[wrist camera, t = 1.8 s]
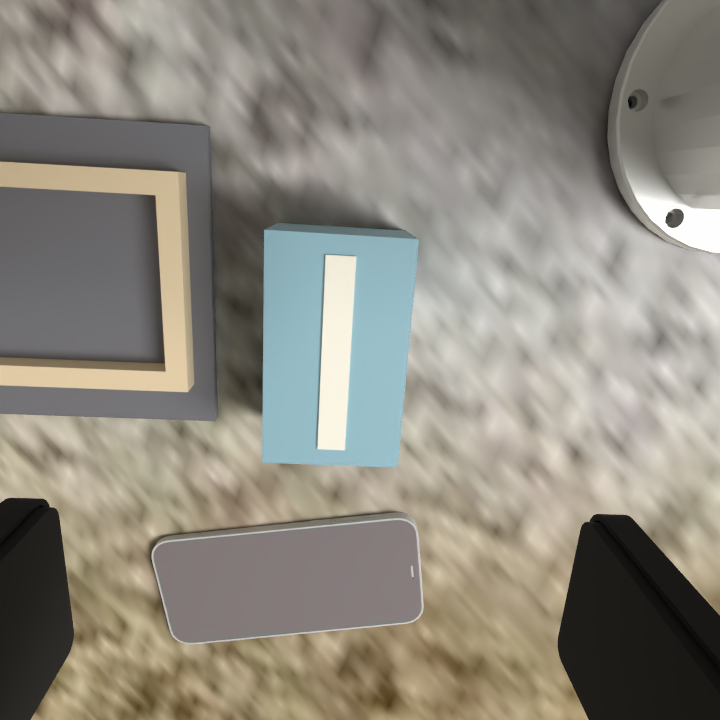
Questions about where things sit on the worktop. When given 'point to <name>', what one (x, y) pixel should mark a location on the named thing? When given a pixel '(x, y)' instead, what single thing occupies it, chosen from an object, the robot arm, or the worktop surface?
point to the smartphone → (290, 578)
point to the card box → (335, 343)
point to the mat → (106, 269)
